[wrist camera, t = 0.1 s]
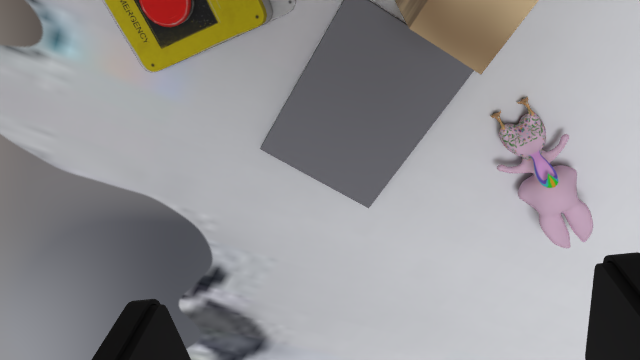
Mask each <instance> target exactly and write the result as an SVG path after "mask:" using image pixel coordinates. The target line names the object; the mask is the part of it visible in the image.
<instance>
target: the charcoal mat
mask: <svg viewBox="0 0 640 360" xmlns="http://www.w3.org/2000/svg"><path fill="white" fill-rule="evenodd" d="M473 71H474V70H473V69H472V68H470V67H468V66H467V65H465V64H464V63H462V62H461V61H459V60H457V59H456V58H454V57H453V56H451V55H450V54H448V53H447V52H445V51H443V50H442V49H440V48H439V47H437V46H436V45H434V44H433V43H431V42H429V41H428V40H426V39H425V38H423V37H422V36H420V35H418V34H417V33H415V32H414V31H412V30H411V29H409V27H408V25H407V24H405V23H404V22H402V21H401V20H399V19H397V18H396V17H394V16H393V15H391V14H390V13H388V12H387V11H385V10H383V9H382V8H380V7H379V6H377V5H376V4H374V3H373V2H371V1H369V0H344V1H343V3H342V5H341V6H340V8H339V10H338V12H337V14H336V15H335V17H334V19H333V21H332V22H331V24H330V26H329V28H328V29H327V31H326V33H325V35H324V36H323V38H322V40H321V42H320V44H319V45H318V47H317V49H316V51H315V52H314V54H313V56H312V58H311V59H310V61H309V63H308V65H307V67H306V68H305V70H304V72H303V74H302V75H301V77H300V79H299V81H298V82H297V84H296V86H295V88H294V90H293V91H292V93H291V95H290V97H289V98H288V100H287V102H286V104H285V105H284V107H283V109H282V111H281V112H280V114H279V116H278V118H277V120H276V121H275V123H274V125H273V127H272V128H271V130H270V132H269V134H268V135H267V137H266V139H265V141H264V143H263V144H262V146H261V148H260V149H261V150H263V151H265V152H267V153H268V154H270V155H272V156H274V157H276V158H278V159H279V160H281V161H283V162H285V163H287V164H289V165H290V166H292V167H294V168H296V169H298V170H300V171H301V172H303V173H305V174H307V175H309V176H311V177H312V178H314V179H316V180H318V181H320V182H322V183H323V184H325V185H327V186H329V187H331V188H333V189H334V190H336V191H338V192H340V193H342V194H344V195H345V196H347V197H349V198H351V199H353V200H355V201H356V202H358V203H360V204H362V205H364V206H366V207H367V208H369V207H370V206H371V204H372V203H373V202H374V201H375V199H376V198H377V197H378V195H379V194H380V193H381V191H382V190H383V189H384V187H385V186H386V185H387V184H388V182H389V181H390V180H391V178H392V177H393V176H394V174H395V173H396V172H397V170H398V169H399V168H400V167H401V165H402V164H403V163H404V161H405V160H406V159H407V157H408V156H409V155H410V153H411V152H412V151H413V150H414V148H415V147H416V146H417V144H418V143H419V142H420V140H421V139H422V138H423V136H424V135H425V134H426V133H427V131H428V130H429V129H430V127H431V126H432V125H433V123H434V122H435V121H436V119H437V118H438V117H439V116H440V114H441V113H442V112H443V110H444V109H445V108H446V106H447V105H448V104H449V102H450V101H451V100H452V99H453V97H454V96H455V95H456V93H457V92H458V91H459V89H460V88H461V87H462V85H463V84H464V83H465V81H466V80H467V79H468V78H469V76H470V75H471V74H472V72H473Z"/></svg>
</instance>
